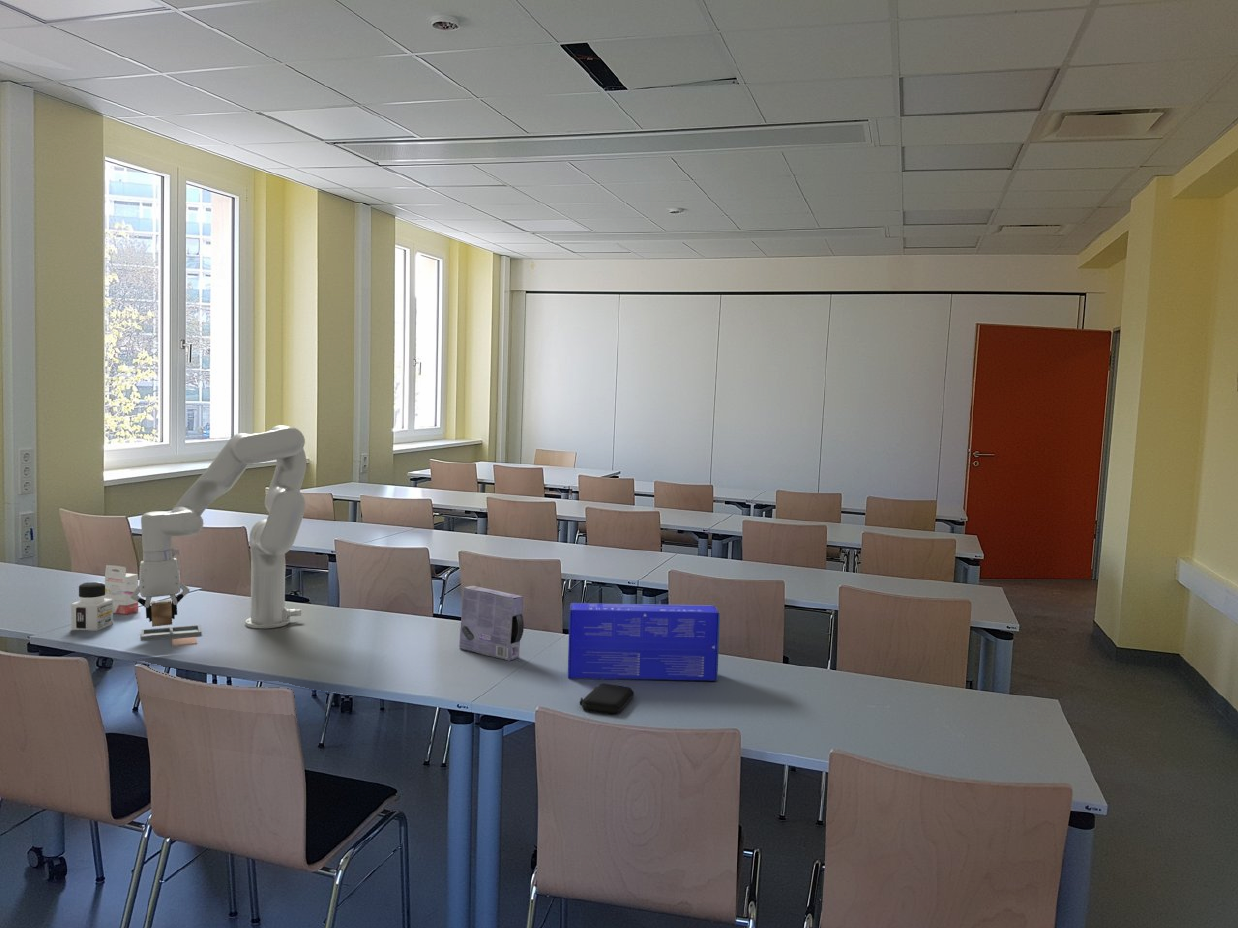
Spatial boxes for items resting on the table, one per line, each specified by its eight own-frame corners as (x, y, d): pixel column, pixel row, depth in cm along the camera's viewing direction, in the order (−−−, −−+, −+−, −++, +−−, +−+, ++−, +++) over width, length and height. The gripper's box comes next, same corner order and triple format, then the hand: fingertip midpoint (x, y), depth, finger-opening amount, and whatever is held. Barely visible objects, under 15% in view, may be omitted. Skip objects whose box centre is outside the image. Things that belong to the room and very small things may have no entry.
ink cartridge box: (139, 611, 273) (139, 564, 271) (126, 614, 268) (126, 567, 267) (117, 608, 275) (117, 562, 274) (104, 611, 270) (103, 564, 269)
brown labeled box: (171, 619, 251) (170, 599, 250) (172, 624, 246) (171, 603, 246) (152, 622, 248) (151, 601, 248) (152, 626, 244) (151, 605, 243)
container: (97, 631, 249) (97, 586, 248) (70, 630, 249) (70, 585, 248) (113, 624, 257) (113, 580, 256) (87, 623, 257) (87, 579, 256)
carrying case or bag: (594, 691, 216) (574, 711, 202) (594, 679, 216) (574, 698, 202) (635, 697, 213) (618, 718, 199) (636, 685, 213) (619, 705, 199)
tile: (195, 639, 246) (195, 636, 246) (196, 644, 240) (196, 642, 240) (171, 641, 243) (171, 638, 243) (172, 646, 238) (172, 644, 238)
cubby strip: (200, 629, 256) (200, 624, 256) (201, 636, 249) (201, 631, 249) (141, 633, 248) (141, 629, 248) (140, 641, 242) (140, 636, 241)
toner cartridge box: (712, 672, 235) (716, 604, 233) (717, 683, 226) (721, 612, 225) (567, 669, 233) (569, 600, 231) (566, 679, 224) (569, 608, 223)
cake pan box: (523, 657, 241) (525, 594, 239) (512, 662, 236) (514, 597, 235) (469, 645, 250) (471, 584, 249) (458, 649, 246) (459, 587, 245)
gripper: (191, 550, 253) (194, 612, 255) (123, 556, 245) (127, 619, 247) (192, 555, 246) (196, 618, 248) (123, 561, 238) (127, 626, 240)
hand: (162, 618), depth 247 cm, fingers closed on brown labeled box, 5 cm apart
